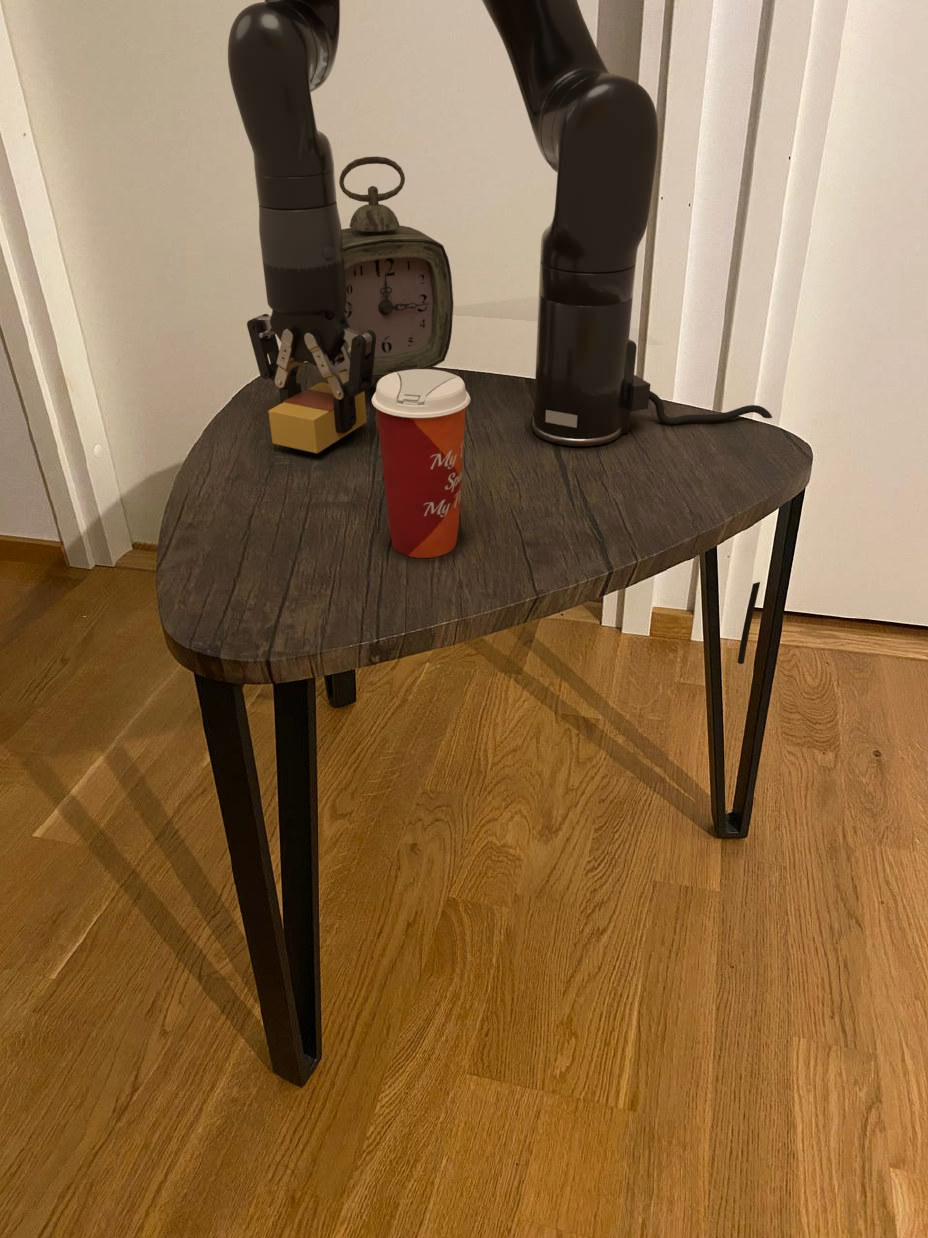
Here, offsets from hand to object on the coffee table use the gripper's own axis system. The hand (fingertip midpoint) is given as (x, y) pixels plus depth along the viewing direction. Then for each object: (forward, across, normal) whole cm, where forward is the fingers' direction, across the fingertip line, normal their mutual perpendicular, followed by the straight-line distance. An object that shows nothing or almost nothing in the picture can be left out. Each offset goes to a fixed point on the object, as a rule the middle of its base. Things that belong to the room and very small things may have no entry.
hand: (319, 424), depth 100 cm
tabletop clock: (+2, +2, -15) cm, 15 cm away
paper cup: (+2, -20, +14) cm, 24 cm away
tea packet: (+1, 0, 0) cm, 1 cm away
